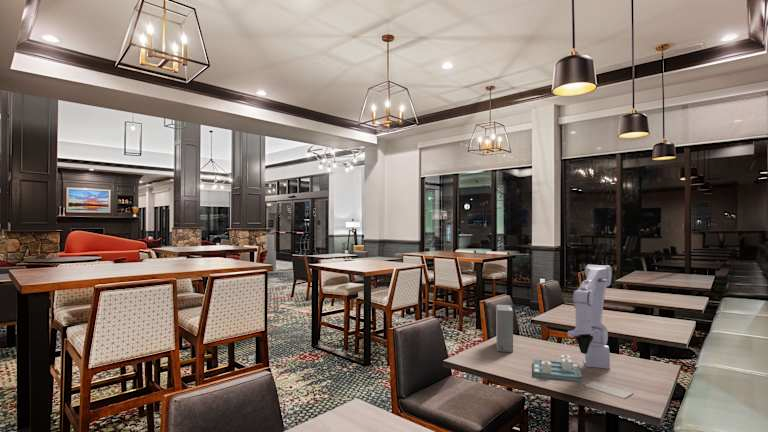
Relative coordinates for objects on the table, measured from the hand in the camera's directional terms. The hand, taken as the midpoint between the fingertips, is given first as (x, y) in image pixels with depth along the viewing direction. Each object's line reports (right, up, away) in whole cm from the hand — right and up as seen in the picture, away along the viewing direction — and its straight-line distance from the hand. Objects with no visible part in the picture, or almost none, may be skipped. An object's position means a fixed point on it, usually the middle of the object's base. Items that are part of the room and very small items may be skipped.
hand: (583, 353), depth 169 cm
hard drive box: (-22, -10, +37) cm, 44 cm away
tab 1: (-15, -8, 0) cm, 17 cm away
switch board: (-10, -9, +3) cm, 14 cm away
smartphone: (+1, -9, -15) cm, 18 cm away
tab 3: (-6, -8, +2) cm, 10 cm away
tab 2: (-4, -8, +7) cm, 12 cm away
